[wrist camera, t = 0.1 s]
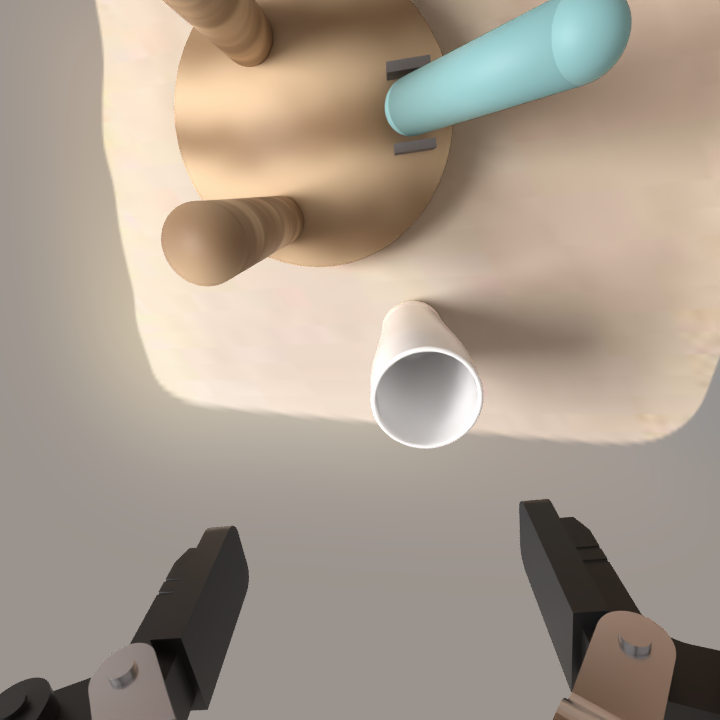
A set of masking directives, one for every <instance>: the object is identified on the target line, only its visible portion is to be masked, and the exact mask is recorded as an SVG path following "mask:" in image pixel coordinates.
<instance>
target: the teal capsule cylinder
mask: <svg viewBox="0 0 720 720" xmlns="http://www.w3.org/2000/svg"><path fill="white" fill-rule="evenodd" d="M630 31H631V12H630V8H629V5H628V3H627V1H626V0H549V1H547V2H546V3H544V4H542V5H540V6H538V7H536V8H534V9H532V10H530V11H528V12H526V13H524V14H522V15H521V16H519V17H517V18H515V19H513V20H511V21H509V22H507V23H505V24H503V25H501V26H499V27H497V28H496V29H494V30H492V31H490V32H488V33H486V34H484V35H482V36H480V37H478V38H476V39H474V40H473V41H471V42H469V43H467V44H465V45H463V46H461V47H459V48H457V49H455V50H453V51H451V52H449V53H448V54H446V55H444V56H442V57H440V58H438V59H436V60H434V61H432V62H430V63H428V64H426V65H424V66H423V67H421V68H419V69H417V70H415V71H413V72H411V73H409V74H407V75H405V76H403V77H401V78H400V79H398V80H397V81H396V82H395V83H394V84H393V85H392V86H391V88H390V89H389V91H388V93H387V96H386V99H385V115H386V118H387V121H388V123H389V124H390V126H391V127H392V128H393V129H394V130H395V131H396V132H397V133H399V134H401V135H405V136H417V135H421V134H424V133H427V132H431V131H434V130H437V129H441V128H444V127H447V126H450V125H454V124H457V123H460V122H464V121H467V120H470V119H474V118H477V117H480V116H484V115H487V114H490V113H493V112H497V111H500V110H503V109H507V108H510V107H513V106H517V105H520V104H523V103H526V102H530V101H533V100H536V99H540V98H543V97H546V96H550V95H553V94H556V93H559V92H563V91H566V90H569V89H573V88H576V87H579V86H583V85H586V84H588V83H591V82H593V81H595V80H597V79H599V78H600V77H601V76H603V75H604V74H606V73H607V72H608V71H609V70H610V69H611V68H612V67H613V66H614V65H615V64H616V62H617V61H618V60H619V58H620V56H621V55H622V53H623V51H624V49H625V48H626V45H627V42H628V39H629V36H630Z"/></svg>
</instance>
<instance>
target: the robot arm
mask: <svg viewBox="0 0 720 720" xmlns="http://www.w3.org/2000/svg"><path fill="white" fill-rule="evenodd" d="M519 514H520V546H521V555H522V560H523V564H524V568H525V571H526V574H527V576H528V579H529V582H530V584H531V587H532V590H533V592H534V595H535V598H536V600H537V603H538V605H539V608H540V611H541V613H542V616H543V619H544V621H545V624H546V627H547V629H548V632H549V635H550V637H551V640H552V643H553V645H554V648H555V651H556V653H557V655H558V658H559V661H560V663H561V666H562V669H563V672H564V674H565V677H566V680H567V682H568V685H569V688H570V690H571V692H572V693H571V695H570V697H569V699H566V698H564V699H562V701H561V702H560V704H559V706H558V709H557V711H556V713H555V716H554V718H553V720H720V651H718V650H713V649H709V648H705V647H700V646H695V645H691V644H687V643H683V642H680V641H678V640H675V639H673V638H671V637H670V636H669V635H668V634H667V632H666V631H665V630H664V629H663V628H661V626H659V625H658V624H656V623H655V622H654V621H652V620H651V619H649V618H647V617H645V616H643V615H642V614H641V613H640V611H639V610H638V608H637V607H636V605H635V603H634V602H633V600H632V598H631V597H630V595H629V593H628V592H627V590H626V589H625V587H624V586H623V584H622V582H621V581H620V579H619V577H618V575H617V574H616V572H615V571H614V569H613V567H612V566H611V564H610V562H608V561H607V558H606V556H605V554H604V553H603V551H602V549H600V548H599V544H598V543H597V541H596V540H595V538H594V536H593V535H592V533H591V531H590V530H589V529H588V528H587V527H585V526H584V525H583V524H581V523H580V522H579V521H578V520H576V519H575V518H574V517H566V518H559V516H558V514H557V512H556V510H555V509H554V507H553V505H552V503H551V501H550V500H549V499H542V500H530V501H521V502H520V504H519ZM248 573H249V571H248V566H247V562H246V559H245V555H244V552H243V548H242V545H241V541H240V538H239V534H238V531H237V529H236V527H235V526H225V527H214V528H208V529H207V530H206V531H205V533H204V534H203V536H202V538H201V540H200V543H199V544H198V546H197V548H190V549H188V550H187V551H186V552H185V553H184V554H183V555H182V556H181V557H180V558H179V559H178V560H177V561H176V562H175V563H174V565H173V567H172V569H171V571H170V573H169V574H168V576H167V578H166V582H164V583H163V585H162V587H161V589H160V591H159V595H157V596H156V598H155V600H154V601H153V603H152V605H151V607H150V609H149V611H148V613H147V614H146V616H145V618H144V620H143V622H142V623H141V625H140V627H139V629H138V631H137V632H136V634H135V636H134V638H133V640H132V642H131V644H129V645H127V646H124V647H122V648H120V649H118V650H117V651H115V652H113V653H112V654H111V655H109V656H108V657H107V658H106V659H105V660H104V661H103V662H102V663H101V664H100V665H99V666H98V668H97V669H96V670H95V672H94V674H93V675H92V677H91V678H89V679H86V680H83V681H81V682H78V683H75V684H72V685H69V686H67V687H64V688H61V689H59V690H56V691H53V690H52V688H51V686H50V684H49V683H48V682H47V680H45V679H43V678H31V679H27V680H24V681H21V682H19V683H17V684H15V685H13V686H11V687H10V688H8V689H7V690H5V691H4V692H2V693H1V694H0V720H187V719H188V716H189V713H190V711H191V710H207V709H208V707H209V704H210V701H211V698H212V695H213V692H214V689H215V686H216V683H217V680H218V677H219V674H220V671H221V668H222V665H223V662H224V659H225V655H226V653H227V650H228V647H229V644H230V641H231V637H232V635H233V631H234V629H235V625H236V623H237V620H238V617H239V614H240V610H241V607H242V604H243V601H244V598H245V595H246V592H247V589H248V582H249V574H248Z"/></svg>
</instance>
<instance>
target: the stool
mask: <svg viewBox="0 0 720 720" xmlns="http://www.w3.org/2000/svg"><path fill="white" fill-rule="evenodd" d="M163 1H164V2H165V3H166V4H168V5H169V6H170V7H171V8H172V9H173V10H175V11H176V12H177V13H178V14H179V15H180V16H181V17H183V18H184V19H185V20H186V21H187V22H188V23H190V24H191V25H192V26H193V29H192V31H191V33H190V36H189V38H188V40H187V42H186V45H185V47H184V50H183V54H182V57H181V60H180V64H179V67H178V73H177V79H176V85H175V101H174V112H175V127H176V133H177V138H178V144H179V149H180V152H181V155H182V158H183V162H184V165H185V168H186V170H187V172H188V175H189V177H190V179H191V182H192V184H193V186H194V187H195V189H196V191H197V193H198V194H199V196H200V198H201V200H202V201H191V202H187V203H184V204H182V205H180V206H178V207H177V208H175V209H174V210H173V211H172V212H171V213H170V214H169V216H168V217H167V219H166V221H165V223H164V225H163V229H162V236H161V241H162V248H163V252H164V255H165V257H166V259H167V261H168V263H169V265H170V266H171V267H172V269H173V270H174V271H175V272H176V273H177V274H178V275H179V276H181V277H182V278H183V279H185V280H187V281H188V282H191V283H193V284H196V285H200V286H215V285H219V284H222V283H224V282H226V281H228V280H229V279H231V278H233V277H234V276H236V275H238V274H240V273H241V272H243V271H245V270H246V269H248V268H250V267H251V266H253V265H255V264H256V263H258V262H260V261H262V260H263V259H265V258H267V257H270V258H273V259H275V260H278V261H281V262H284V263H289V264H294V265H299V266H309V267H327V266H337V265H342V264H347V263H351V262H354V261H357V260H360V259H363V258H366V257H368V256H370V255H372V254H374V253H376V252H378V251H380V250H381V249H383V248H384V247H386V246H387V245H389V244H390V243H392V242H393V241H395V240H396V239H397V238H398V237H399V236H401V235H402V234H403V233H404V232H405V231H406V230H407V229H408V228H409V227H410V226H411V225H412V224H413V223H414V222H415V220H416V219H417V218H418V217H419V216H420V215H421V213H422V212H423V210H424V209H425V207H426V206H427V204H428V203H429V201H430V200H431V198H432V196H433V194H434V192H435V190H436V188H437V186H438V184H439V182H440V179H441V177H442V174H443V171H444V169H445V166H446V162H447V158H448V154H449V150H450V146H451V137H452V129H453V125H450V126H447V127H444V128H441V129H437V130H434V131H431V132H427V133H424V134H421V135H417V136H405V135H401V134H399V133H397V132H396V131H395V130H394V129H393V128H392V127H391V126H390V124H389V123H388V121H387V118H386V115H385V99H386V96H387V93H388V91H389V89H390V88H391V86H392V85H393V84H394V83H395V82H396V81H397V80H398V79H400V78H401V77H403V76H405V75H407V74H409V73H411V72H413V71H415V70H417V69H419V68H421V67H423V66H424V65H426V64H428V63H430V62H432V61H434V60H436V59H438V58H440V57H442V56H443V55H442V53H441V50H440V47H439V45H438V42H437V40H436V38H435V37H434V35H433V33H432V31H431V29H430V27H429V25H428V23H427V22H426V21H425V19H424V18H423V16H422V15H421V14H420V12H419V11H418V9H417V8H416V7H415V5H414V4H413V3H412V2H411V1H410V0H163Z"/></svg>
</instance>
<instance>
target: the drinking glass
mask: <svg viewBox="0 0 720 720" xmlns="http://www.w3.org/2000/svg"><path fill="white" fill-rule="evenodd" d="M370 393H371V406H372V411H373V414H374V417H375V419H376V421H377V423H378V424H379V426H380V427H381V428H382V429H383V431H384V432H385V433H386V434H388V435H389V436H390V437H391V438H393V439H394V440H396V441H398V442H399V443H402V444H404V445H407V446H410V447H415V448H436V447H441V446H445V445H447V444H450V443H452V442H454V441H456V440H458V439H459V438H461V437H462V436H463V435H465V434H466V433H467V432H468V431H469V430H470V429H471V428H472V426H473V425H474V424H475V422H476V421H477V419H478V417H479V415H480V412H481V409H482V405H483V387H482V383H481V380H480V377H479V374H478V372H477V369H476V367H475V365H474V362H473V360H472V358H471V357H470V355H469V353H468V351H467V350H466V348H465V347H464V345H463V344H462V343H461V341H460V340H459V339H458V338H457V337H456V336H455V335H454V333H453V332H452V331H451V330H450V329H449V328H448V327H447V326H446V324H445V323H444V322H443V321H442V320H441V318H440V316H439V314H438V313H437V312H436V311H435V310H434V309H433V308H432V307H431V306H429V305H428V304H426V303H423V302H420V301H406V302H403V303H400V304H398V305H396V306H395V307H393V308H392V309H391V310H390V311H389V312H388V314H387V315H386V317H385V319H384V321H383V324H382V333H381V336H380V340H379V343H378V346H377V349H376V352H375V356H374V360H373V364H372V369H371V379H370Z"/></svg>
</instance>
